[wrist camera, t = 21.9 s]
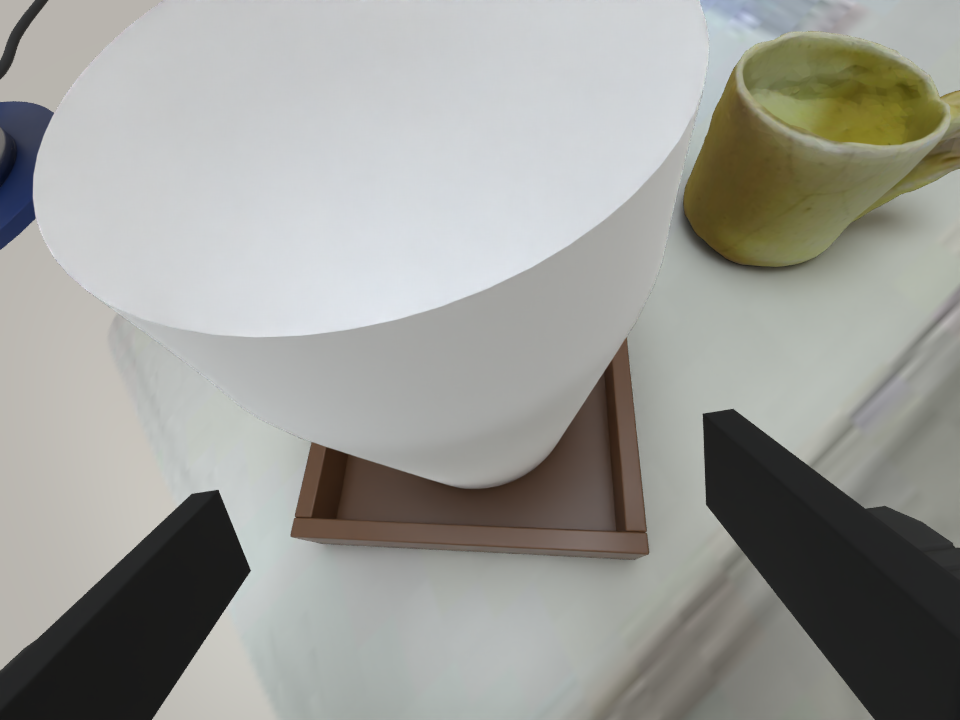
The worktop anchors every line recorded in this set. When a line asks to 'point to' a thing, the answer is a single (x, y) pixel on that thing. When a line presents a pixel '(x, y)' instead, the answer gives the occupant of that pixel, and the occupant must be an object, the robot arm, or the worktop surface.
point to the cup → (383, 208)
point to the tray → (496, 494)
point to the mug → (815, 145)
